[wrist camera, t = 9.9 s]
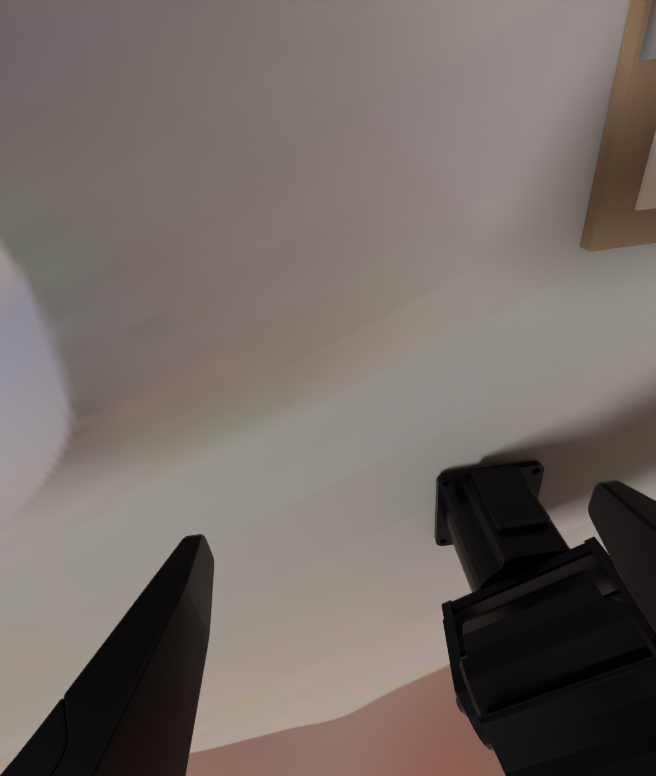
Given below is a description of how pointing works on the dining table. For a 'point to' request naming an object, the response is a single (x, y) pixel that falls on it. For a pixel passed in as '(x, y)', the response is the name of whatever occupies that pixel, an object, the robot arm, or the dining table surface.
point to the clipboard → (628, 144)
